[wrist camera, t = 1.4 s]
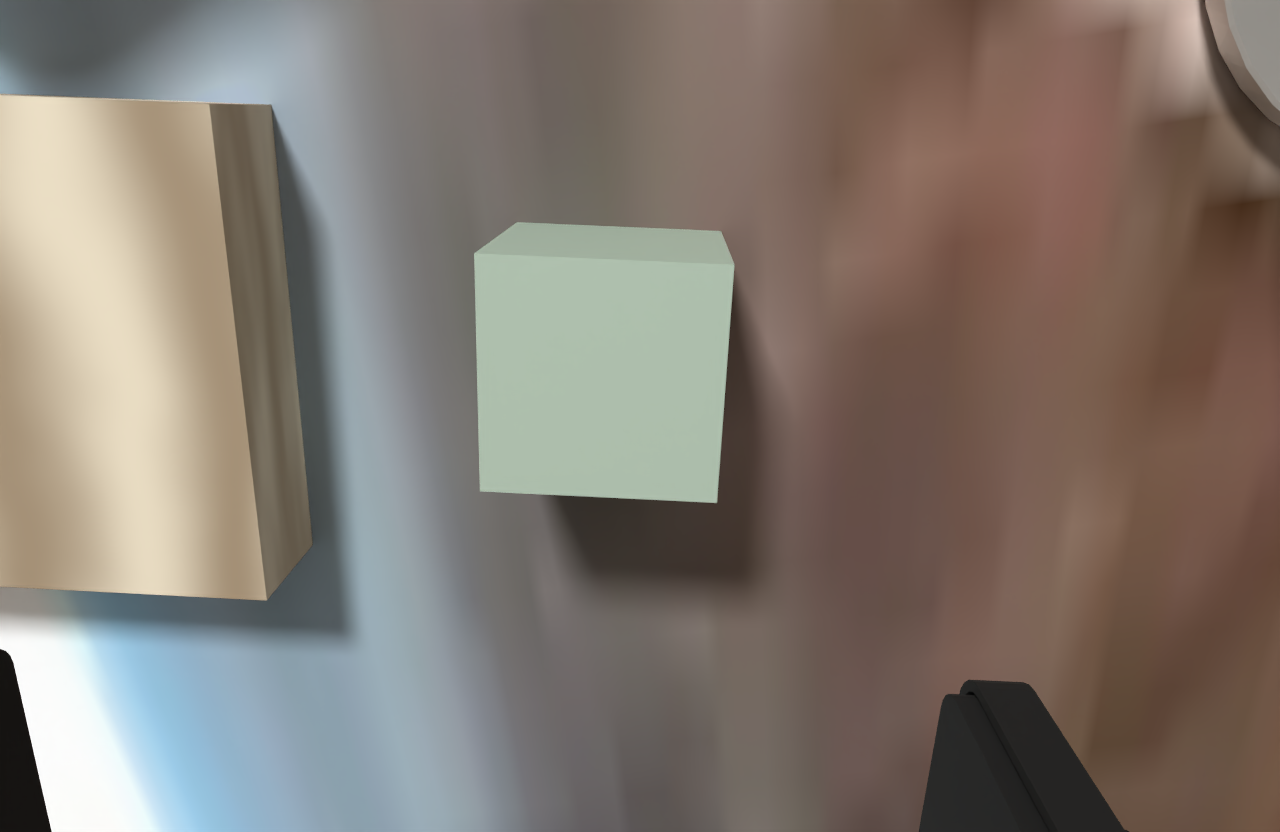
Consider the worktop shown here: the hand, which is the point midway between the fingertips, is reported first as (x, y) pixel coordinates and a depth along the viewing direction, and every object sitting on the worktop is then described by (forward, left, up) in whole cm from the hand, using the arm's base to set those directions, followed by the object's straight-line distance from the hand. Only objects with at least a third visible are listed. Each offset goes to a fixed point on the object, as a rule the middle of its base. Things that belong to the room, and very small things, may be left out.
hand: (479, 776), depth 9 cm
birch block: (+17, +1, -20) cm, 26 cm away
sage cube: (0, 0, -19) cm, 19 cm away
